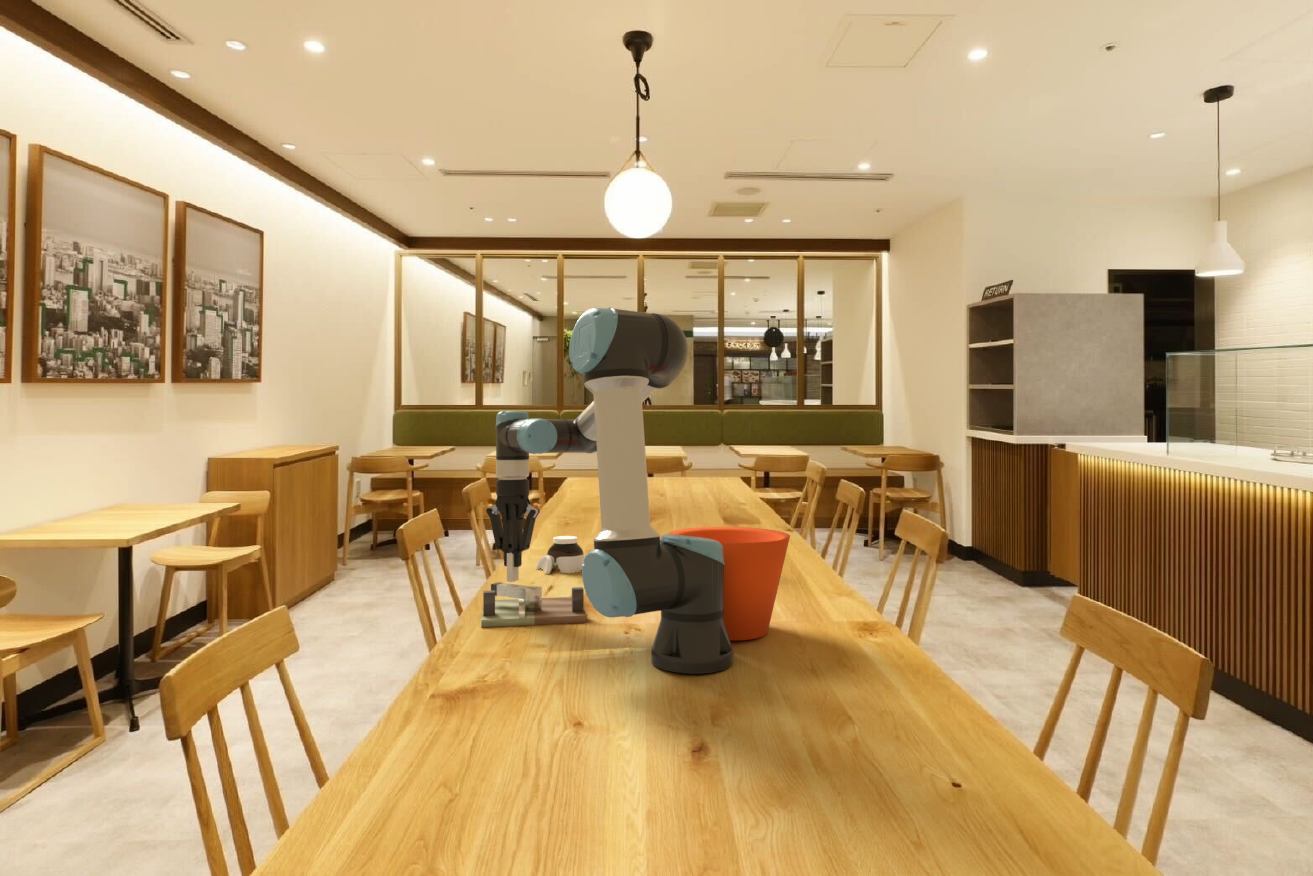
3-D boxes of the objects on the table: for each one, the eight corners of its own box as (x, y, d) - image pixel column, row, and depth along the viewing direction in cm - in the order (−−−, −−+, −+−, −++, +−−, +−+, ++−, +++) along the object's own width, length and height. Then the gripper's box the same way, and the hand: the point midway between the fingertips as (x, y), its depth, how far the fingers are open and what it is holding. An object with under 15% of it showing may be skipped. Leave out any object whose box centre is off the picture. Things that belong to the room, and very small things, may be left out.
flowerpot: (702, 610, 171) (702, 524, 171) (807, 624, 158) (807, 531, 158) (645, 635, 150) (645, 536, 150) (761, 654, 137) (761, 546, 137)
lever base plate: (586, 622, 160) (586, 592, 160) (481, 627, 156) (481, 596, 156) (578, 603, 179) (578, 575, 178) (484, 606, 174) (484, 579, 174)
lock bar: (545, 608, 165) (545, 587, 165) (535, 611, 162) (535, 590, 162) (499, 602, 171) (499, 581, 171) (489, 605, 168) (489, 584, 168)
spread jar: (588, 578, 209) (588, 537, 209) (562, 585, 200) (562, 542, 200) (555, 574, 216) (555, 534, 216) (528, 580, 206) (528, 538, 206)
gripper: (545, 478, 173) (545, 579, 173) (496, 477, 177) (496, 576, 177) (529, 479, 166) (529, 585, 166) (479, 478, 170) (479, 582, 170)
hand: (512, 580), depth 171 cm, fingers closed
